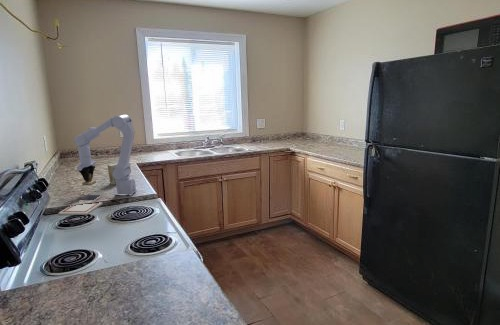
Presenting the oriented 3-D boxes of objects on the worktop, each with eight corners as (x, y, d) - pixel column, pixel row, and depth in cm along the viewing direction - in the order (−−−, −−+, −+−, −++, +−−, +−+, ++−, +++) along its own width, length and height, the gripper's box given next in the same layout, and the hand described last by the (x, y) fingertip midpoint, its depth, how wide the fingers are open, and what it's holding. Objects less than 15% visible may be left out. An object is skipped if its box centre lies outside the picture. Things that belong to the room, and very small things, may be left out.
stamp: (95, 182, 176) (94, 172, 175) (90, 185, 171) (89, 174, 170) (87, 182, 176) (85, 172, 175) (82, 185, 172) (80, 174, 170)
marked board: (102, 203, 159) (102, 202, 158) (87, 214, 145) (86, 212, 145) (76, 203, 159) (76, 201, 159) (58, 214, 146) (58, 212, 146)
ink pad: (101, 197, 169) (101, 194, 168) (93, 202, 161) (93, 199, 161) (87, 197, 169) (87, 194, 169) (79, 202, 161) (78, 199, 161)
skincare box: (119, 181, 198) (117, 162, 195) (122, 182, 195) (120, 163, 192) (109, 183, 193) (107, 164, 190) (112, 184, 190) (110, 165, 188)
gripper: (85, 153, 177) (89, 176, 181) (69, 159, 163) (73, 183, 166) (97, 153, 177) (100, 176, 180) (82, 159, 163) (86, 183, 166)
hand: (88, 179), depth 173 cm, fingers closed on stamp, 3 cm apart
